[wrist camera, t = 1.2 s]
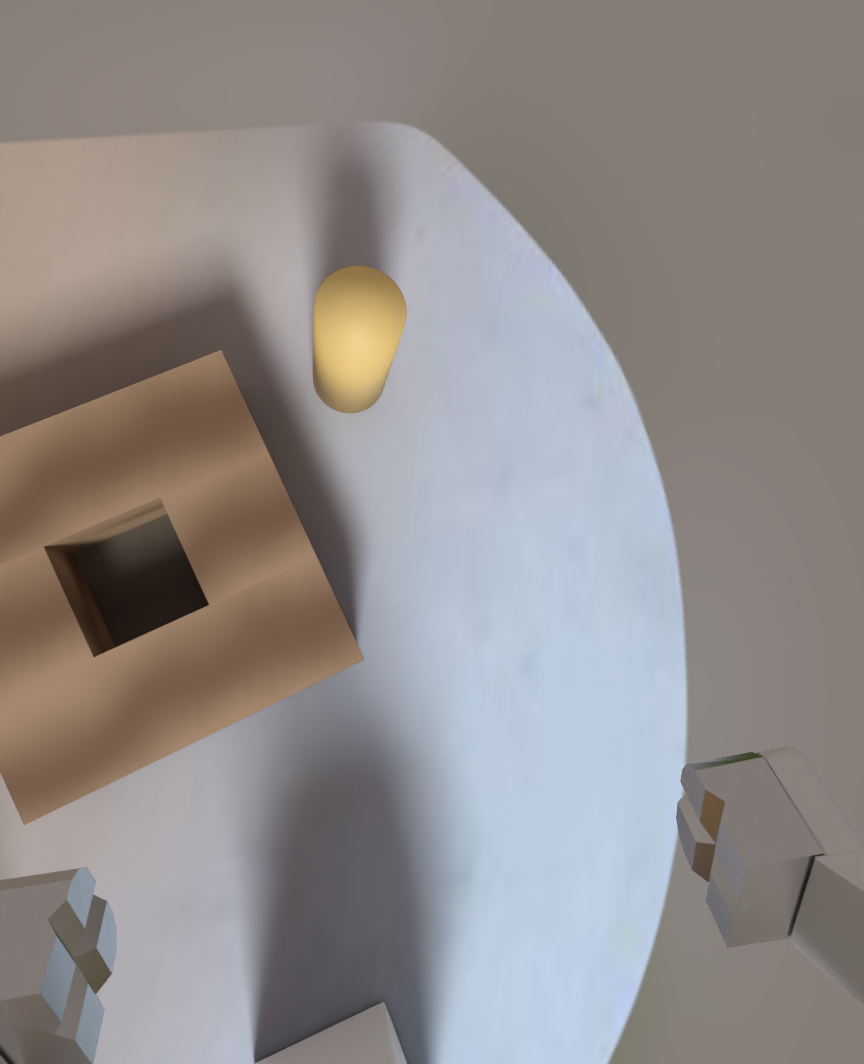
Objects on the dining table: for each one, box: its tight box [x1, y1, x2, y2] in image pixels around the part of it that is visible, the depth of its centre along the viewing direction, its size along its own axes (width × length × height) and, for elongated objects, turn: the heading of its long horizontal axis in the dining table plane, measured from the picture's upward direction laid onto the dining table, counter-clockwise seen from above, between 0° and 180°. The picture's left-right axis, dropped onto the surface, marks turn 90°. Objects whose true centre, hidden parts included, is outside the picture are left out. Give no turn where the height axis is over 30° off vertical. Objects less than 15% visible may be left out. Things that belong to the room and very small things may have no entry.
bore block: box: [0, 350, 364, 825], centre depth 38 cm, size 16×16×6 cm
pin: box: [313, 266, 407, 413], centre depth 39 cm, size 4×4×10 cm
